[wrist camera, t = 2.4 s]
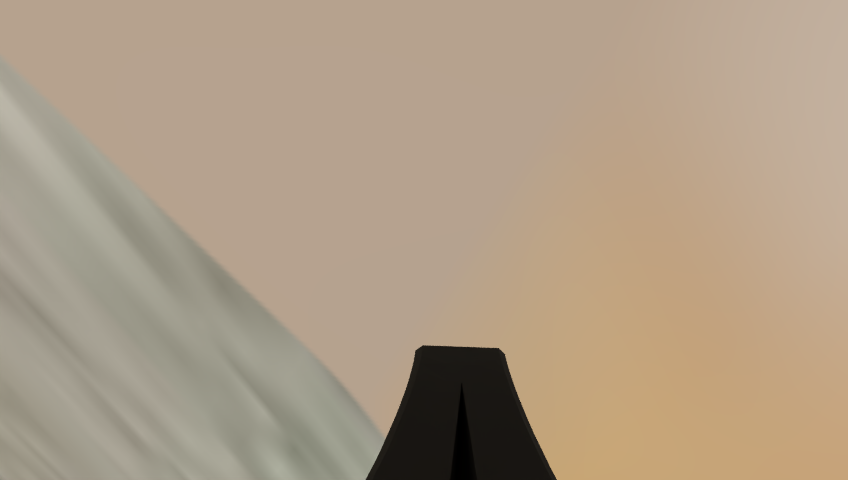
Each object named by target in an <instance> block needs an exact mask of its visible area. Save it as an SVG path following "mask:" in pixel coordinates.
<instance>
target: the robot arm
mask: <svg viewBox="0 0 848 480" xmlns="http://www.w3.org/2000/svg"><path fill="white" fill-rule="evenodd" d="M366 480H557V479H556V477H555V475H554V474H553V472H552V470H551V468H550V466H549V464H548V462H547V460H546V458H545V456H544V453H543V451H542V449H541V448H540V445H539V443H538V441H537V439H536V437H535V435H534V433H533V431H532V428H531V426H530V424H529V421H528V419H527V417H526V414H525V412H524V409H523V407H522V405H521V402H520V400H519V397H518V395H517V392H516V390H515V387H514V384H513V381H512V378H511V375H510V372H509V369H508V365H507V361H506V358H505V354H504V353H503V352H502V351H501V350H500V349H499V348H479V347H478V348H477V347H452V346H424V345H423V346H422V347H420V348H419V349H417V350H416V351H415V357H414V363H413V367H412V371H411V374H410V378H409V381H408V384H407V387H406V390H405V393H404V396H403V398H402V401H401V404H400V406H399V409H398V412H397V414H396V417H395V419H394V421H393V423H392V426H391V428H390V431H389V433H388V435H387V437H386V439H385V442H384V444H383V446H382V449H381V451H380V453H379V455H378V457H377V459H376V461H375V463H374V465H373V467H372V469H371V471H370V473H369V474H368V476H367V478H366Z"/></svg>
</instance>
